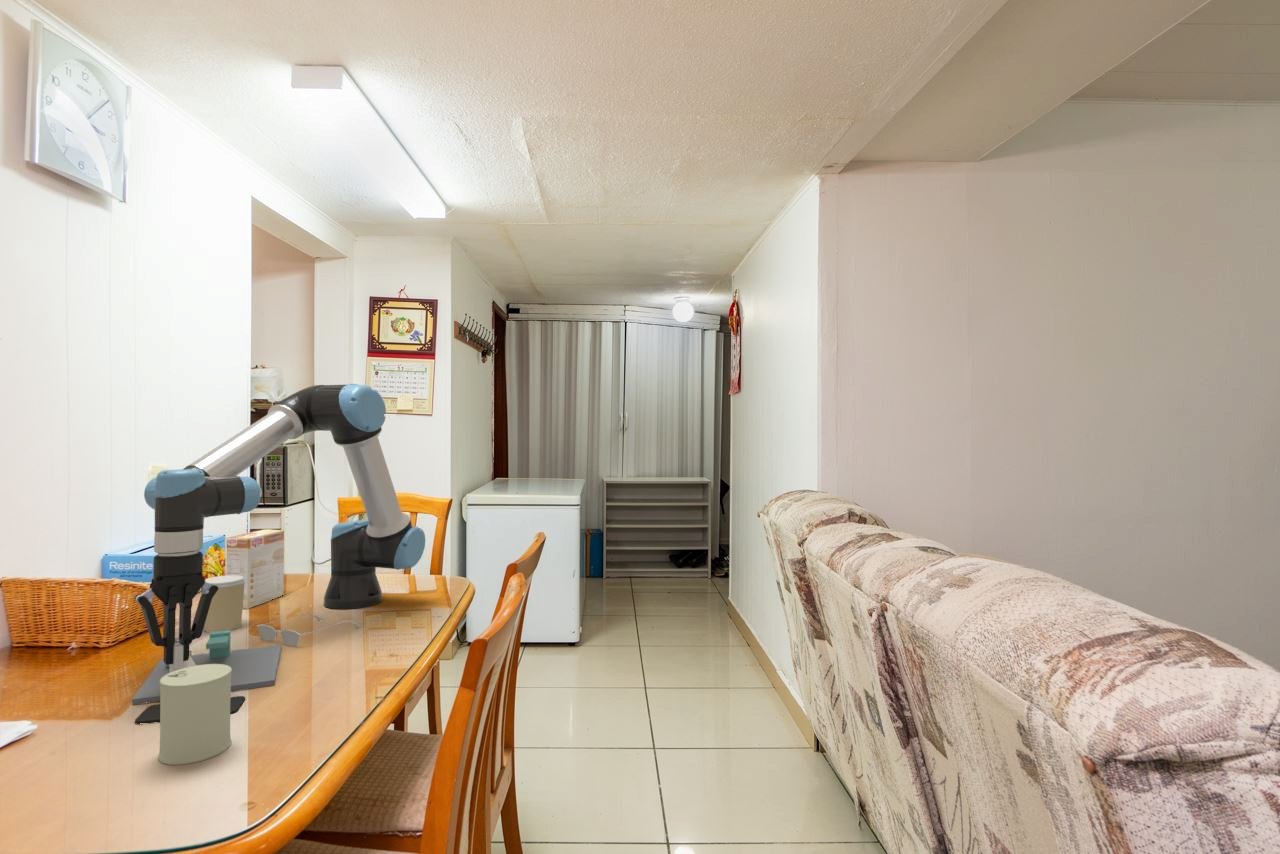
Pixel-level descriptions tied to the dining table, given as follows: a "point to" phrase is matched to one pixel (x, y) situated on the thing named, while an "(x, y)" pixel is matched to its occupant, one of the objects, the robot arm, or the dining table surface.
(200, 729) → the can
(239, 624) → the coffee cup
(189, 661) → the link
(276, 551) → the coffeecake box
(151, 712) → the phone
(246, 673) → the board
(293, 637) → the eyeglasses
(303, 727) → the dining table surface
